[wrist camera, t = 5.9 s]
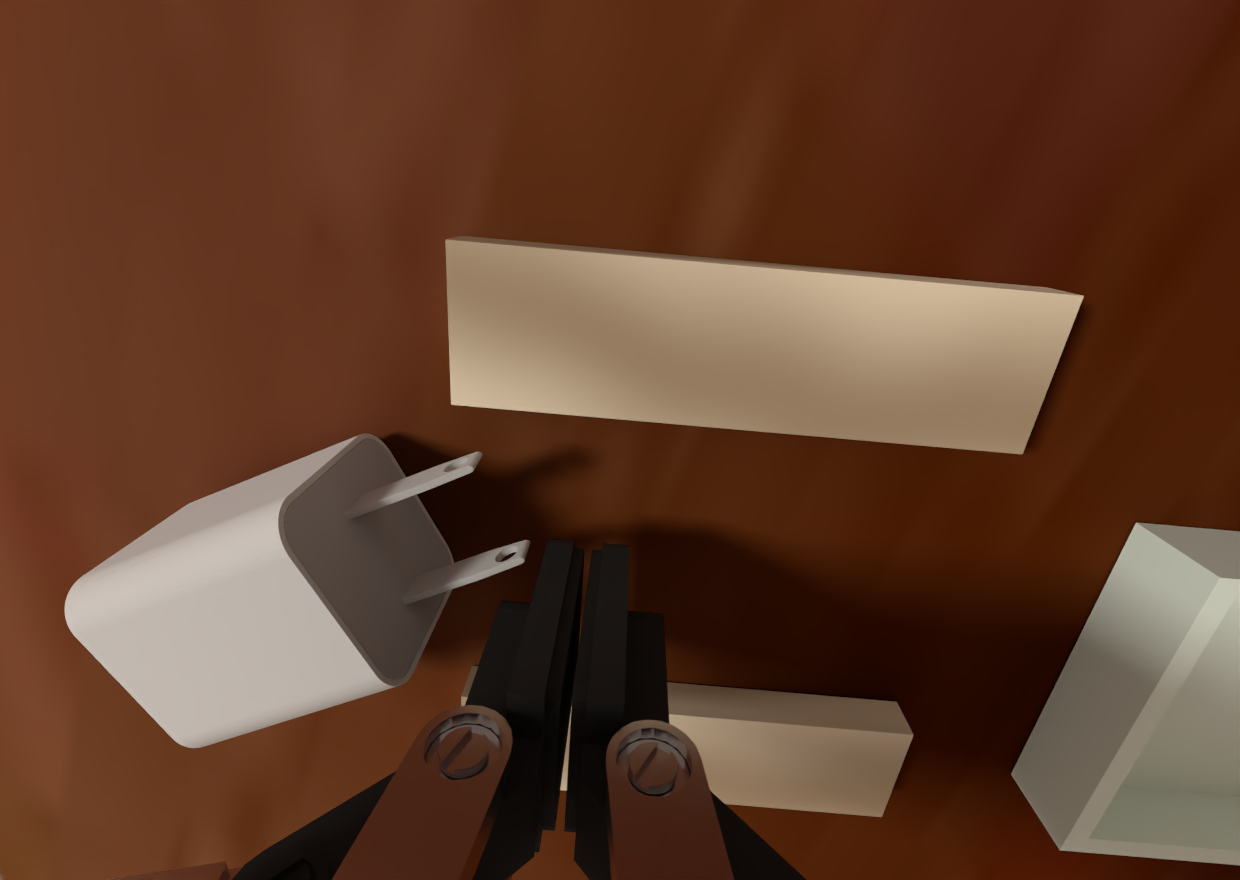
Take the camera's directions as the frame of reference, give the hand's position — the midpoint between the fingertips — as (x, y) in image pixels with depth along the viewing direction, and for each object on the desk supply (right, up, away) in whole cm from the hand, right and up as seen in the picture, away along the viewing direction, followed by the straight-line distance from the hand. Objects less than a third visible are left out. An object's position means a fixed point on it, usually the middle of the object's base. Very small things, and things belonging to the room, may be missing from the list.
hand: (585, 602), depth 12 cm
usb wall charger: (-5, +2, +2) cm, 5 cm away
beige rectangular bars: (+3, 0, +2) cm, 3 cm away
